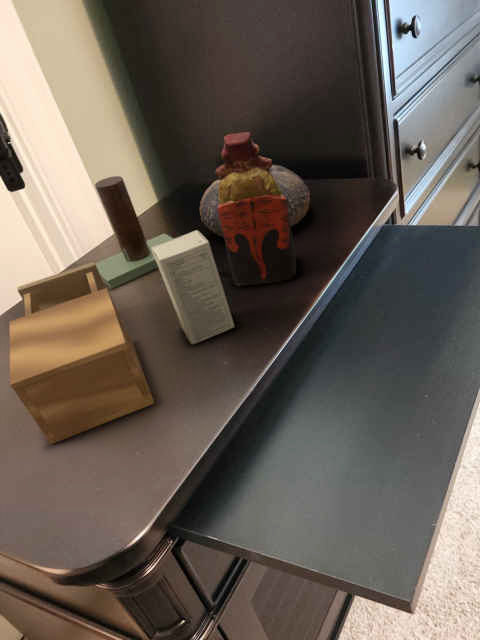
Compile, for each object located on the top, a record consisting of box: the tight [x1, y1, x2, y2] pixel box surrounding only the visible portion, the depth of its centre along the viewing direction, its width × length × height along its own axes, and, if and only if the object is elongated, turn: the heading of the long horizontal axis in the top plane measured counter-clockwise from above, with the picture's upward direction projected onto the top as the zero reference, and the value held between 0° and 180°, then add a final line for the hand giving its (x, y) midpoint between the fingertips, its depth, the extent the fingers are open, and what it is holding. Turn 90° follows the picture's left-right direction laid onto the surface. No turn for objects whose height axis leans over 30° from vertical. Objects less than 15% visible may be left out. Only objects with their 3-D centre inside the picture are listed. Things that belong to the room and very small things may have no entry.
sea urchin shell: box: [199, 164, 311, 239], centre depth 89 cm, size 19×19×10 cm
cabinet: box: [9, 287, 155, 445], centre depth 60 cm, size 14×12×9 cm
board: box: [95, 233, 174, 290], centre depth 86 cm, size 14×8×2 cm, turn 128°
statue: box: [214, 131, 297, 287], centre depth 71 cm, size 12×8×20 cm, turn 86°
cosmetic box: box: [151, 229, 235, 345], centre depth 64 cm, size 6×4×12 cm
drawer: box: [16, 261, 107, 316], centre depth 70 cm, size 17×10×7 cm, turn 24°
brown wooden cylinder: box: [94, 175, 150, 261], centre depth 82 cm, size 4×4×12 cm
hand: (17, 181), depth 70 cm, fingers open, 7 cm apart
